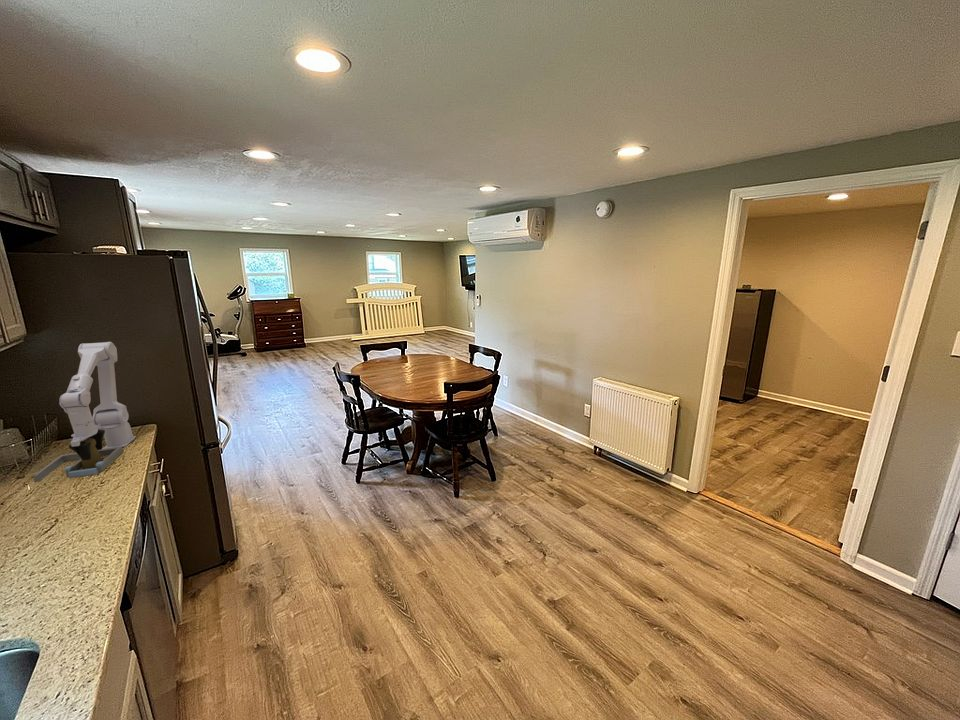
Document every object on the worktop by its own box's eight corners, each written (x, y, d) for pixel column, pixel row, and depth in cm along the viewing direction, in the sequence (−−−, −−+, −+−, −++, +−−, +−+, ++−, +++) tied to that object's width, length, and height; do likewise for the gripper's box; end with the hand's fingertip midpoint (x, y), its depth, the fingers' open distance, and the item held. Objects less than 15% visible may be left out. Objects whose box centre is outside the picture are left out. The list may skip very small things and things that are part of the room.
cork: (91, 470, 143) (82, 444, 140) (77, 469, 143) (68, 443, 140) (108, 461, 148) (100, 436, 145) (95, 460, 149) (87, 435, 146)
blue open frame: (62, 460, 149) (60, 453, 148) (123, 451, 156) (121, 444, 155) (32, 483, 135) (29, 475, 134) (101, 473, 141) (98, 465, 140)
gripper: (80, 416, 147) (90, 447, 151) (55, 432, 134) (67, 466, 137) (103, 413, 149) (112, 444, 153) (81, 429, 136) (91, 462, 140)
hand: (92, 454), depth 145 cm, fingers open, 7 cm apart
